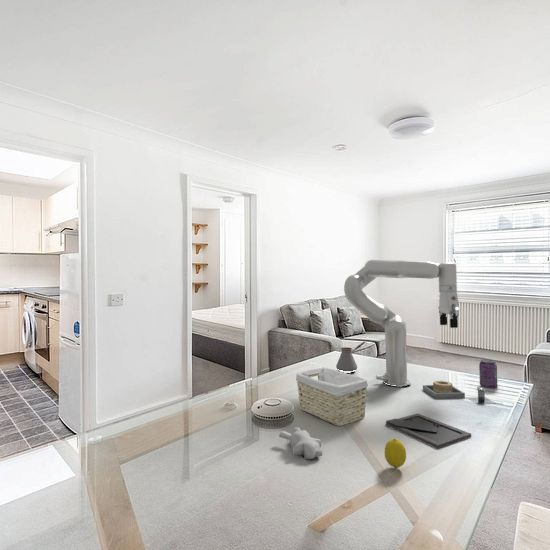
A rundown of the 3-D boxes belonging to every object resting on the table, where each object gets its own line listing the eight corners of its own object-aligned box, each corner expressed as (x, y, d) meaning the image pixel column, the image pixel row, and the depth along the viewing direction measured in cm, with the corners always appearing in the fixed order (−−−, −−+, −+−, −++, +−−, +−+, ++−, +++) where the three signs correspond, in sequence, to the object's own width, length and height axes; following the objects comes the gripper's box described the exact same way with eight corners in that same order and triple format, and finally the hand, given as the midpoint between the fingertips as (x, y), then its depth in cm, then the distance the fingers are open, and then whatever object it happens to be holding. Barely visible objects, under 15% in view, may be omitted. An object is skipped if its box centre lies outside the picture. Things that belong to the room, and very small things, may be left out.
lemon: (381, 463, 102) (381, 434, 102) (401, 462, 102) (400, 433, 103) (389, 474, 96) (388, 443, 97) (410, 473, 97) (409, 442, 97)
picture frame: (385, 426, 129) (437, 450, 110) (385, 420, 129) (437, 443, 110) (417, 417, 137) (471, 438, 118) (417, 412, 137) (471, 432, 118)
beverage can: (492, 384, 174) (492, 359, 174) (500, 389, 167) (499, 362, 167) (477, 384, 175) (476, 359, 175) (484, 388, 168) (483, 362, 168)
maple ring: (438, 396, 157) (438, 385, 157) (431, 391, 164) (431, 380, 164) (454, 395, 157) (454, 385, 157) (446, 390, 164) (446, 380, 164)
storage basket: (370, 418, 135) (369, 378, 135) (338, 430, 126) (337, 386, 126) (325, 401, 154) (324, 366, 155) (294, 410, 145) (294, 372, 145)
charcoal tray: (435, 399, 154) (435, 393, 154) (422, 390, 167) (422, 385, 167) (464, 399, 154) (464, 393, 154) (450, 390, 167) (450, 384, 167)
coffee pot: (347, 375, 195) (346, 347, 195) (331, 371, 204) (331, 344, 204) (374, 369, 207) (373, 342, 207) (358, 365, 216) (357, 340, 216)
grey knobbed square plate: (477, 405, 147) (476, 391, 147) (466, 398, 155) (466, 385, 155) (497, 404, 147) (496, 391, 147) (485, 398, 155) (485, 385, 155)
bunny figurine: (302, 451, 102) (276, 426, 115) (301, 468, 103) (275, 442, 115) (330, 443, 107) (301, 420, 120) (329, 459, 107) (300, 435, 120)
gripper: (465, 289, 163) (466, 328, 162) (446, 288, 180) (447, 323, 180) (448, 289, 162) (449, 328, 162) (431, 288, 180) (432, 324, 180)
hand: (448, 326), depth 171 cm, fingers open, 9 cm apart
